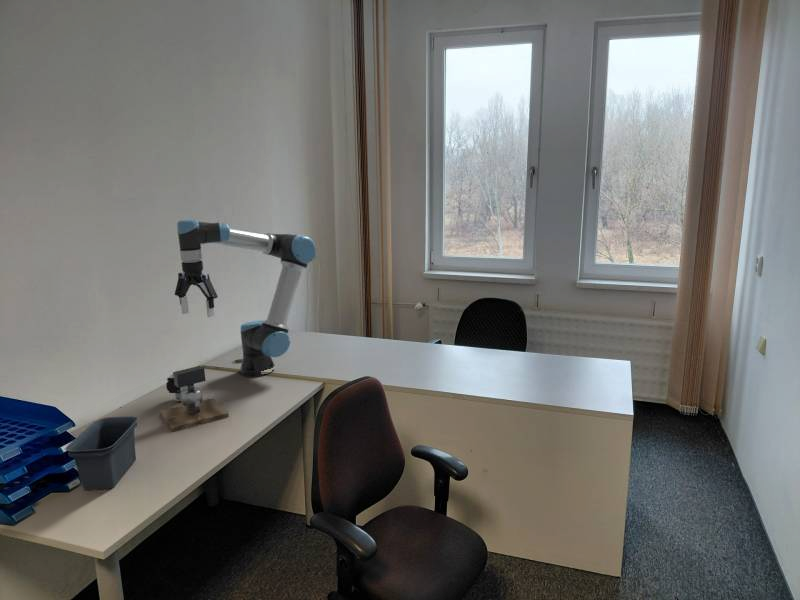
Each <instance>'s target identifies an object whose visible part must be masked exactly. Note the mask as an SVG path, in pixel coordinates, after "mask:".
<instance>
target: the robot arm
mask: <svg viewBox="0 0 800 600" xmlns="http://www.w3.org/2000/svg"><path fill="white" fill-rule="evenodd" d="M176 226H177V235H178V238H177V239H178V242H179V243H178V244H179V252H180V261H181V269H182V271H181V272H178V275H177V276H178V277H177V278H178V279H177V283H176V287H175V290H174V296H177V297H178V298H179V305H180V307H181V314H182V315H185V314H188V313H189V312H190V309H189V302H188V297H187V296H188V295H187V293H188V291H189V290H190V287H191V286H196V287H198V288H199V290H200V291H201V292H202V295H203V296H204V297H205V299H206V300H205V304H206V305H205V307H206V316H207V318H211V317H214V316H215V311H214V308H215V302H214V301H215V299H218V294H217V292H216V289H215V288H214V285H213V284H212V281H211V278H210V274H209V273H205V274H203V270H204V263H203V261H202V260H203V257H202V256H203V254H202V245H204V244H205V245H206V244H216V245H223V246H227V247H229V246H230V247H234V248H240V249H246V250H251V251H252V250H253V251H256V252H257V251H259V252H261V253H262V254H263V255H266V256H271V257H275V258H279V259H280V261H279V262H280V264H281V266H282V268H281V271H280V275H279V278H278V281H277V285H276V287H275V292H274V294H273V298H272V302H271V304H270V309H269V312H268V315H267V318H266V319H265V320H263V319H262V320H261V319H260V320H254V321H249V322H244V323H243V324H241V325H240V336H241V337H240V338H241V348H242V361H241V364H240V374H241V375H242V376H245V377H260V376H261V375H262V374H261V371H264V370H267V369H271V368H273V367H274V366H275V363H274V360H273V358H279V357H281V356H283V355H285V354H286V353H287V351H288V350H289V348H290V345H291V338H290V336H289V334H288V333H289V330H290V328H289V326H288V320H289V317H290V314H291V310H292V307H293V303H294V300H295V297H296V293H297V289H298V286H299V284H300V279H301V276H302V273H303V272H304V271H305V270H307V267H308V266H309V265H308V264H309V263H311V262H313V261H314V260H315V258H316V255H317V246H316V245H315V243H314V241H313V239H311V238H310V237H309V236H307V235H301V234H290V233H286V234H285V233H270V232H266V233H265V234H263V233H258V232H253V231H248V230H243V229H238V228H235V227H234V228H232V227H230V226H229V225H228V223H226V222H223V221H222V222H203V221H198V220H197V219H182V220H179V221H177V224H176ZM262 376H263V375H262Z"/></svg>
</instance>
